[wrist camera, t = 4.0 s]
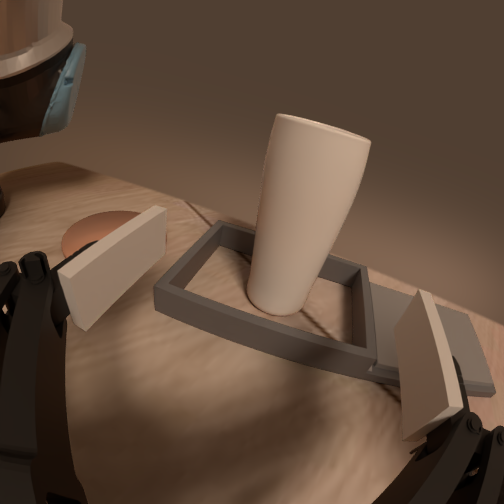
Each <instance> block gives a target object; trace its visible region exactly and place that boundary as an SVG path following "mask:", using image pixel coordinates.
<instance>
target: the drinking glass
mask: <svg viewBox="0 0 504 504" xmlns="http://www.w3.org/2000/svg"><path fill="white" fill-rule="evenodd" d="M370 145H371V141H370V140H369V139H366V138H364V137H362V136H359V135H356V134H353V133H350V132H348V131H345V130H342V129H339V128H336V127H333V126H329V125H326V124H322V123H318V122H315V121H311V120H307V119H303V118H299V117H295V116H290V115H285V114H277V115H276V118H275V122H274V125H273V129H272V132H271V136H270V140H269V144H268V148H267V153H266V158H265V163H264V170H263V176H262V182H261V190H260V198H259V206H258V215H257V223H256V231H255V239H254V246H253V254H252V261H251V269H250V274H249V278H248V283H247V294H248V297H249V299H250V301H251V302H252V303H253V304H254V305H255V306H256V307H257V308H258V309H260V310H261V311H263V312H265V313H268V314H271V315H275V316H288V315H292V314H295V313H297V312H298V311H299V310H301V309H302V307H303V306H304V304H305V302H306V300H307V298H308V295H309V293H310V290H311V288H312V286H313V284H314V283H315V281H316V279H317V277H318V275H319V273H320V271H321V269H322V267H323V265H324V263H325V261H326V259H327V257H328V255H329V253H330V250H331V248H332V246H333V244H334V242H335V240H336V238H337V236H338V234H339V232H340V230H341V228H342V226H343V224H344V221H345V219H346V217H347V215H348V213H349V210H350V208H351V206H352V203H353V201H354V199H355V196H356V194H357V191H358V188H359V185H360V182H361V179H362V176H363V173H364V169H365V166H366V162H367V158H368V154H369V149H370Z"/></svg>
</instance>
